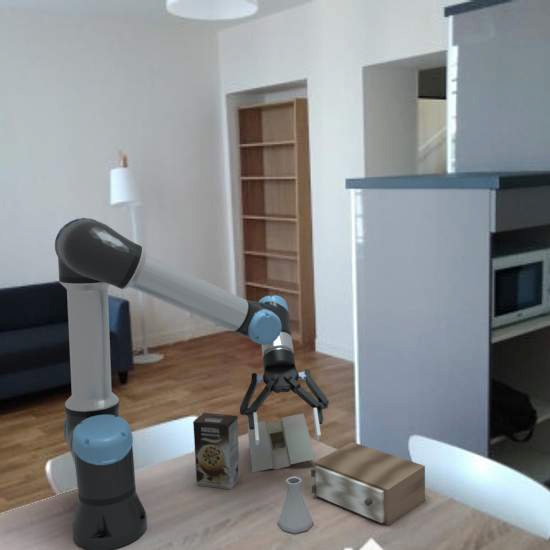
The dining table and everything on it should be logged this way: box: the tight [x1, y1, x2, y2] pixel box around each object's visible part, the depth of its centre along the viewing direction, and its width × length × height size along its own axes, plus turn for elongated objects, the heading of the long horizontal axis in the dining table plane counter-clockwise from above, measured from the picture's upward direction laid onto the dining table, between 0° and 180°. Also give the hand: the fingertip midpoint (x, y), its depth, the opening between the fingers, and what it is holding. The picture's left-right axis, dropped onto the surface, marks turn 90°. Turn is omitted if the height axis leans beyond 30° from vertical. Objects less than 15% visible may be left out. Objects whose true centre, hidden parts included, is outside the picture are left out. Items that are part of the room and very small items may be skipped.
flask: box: [277, 476, 315, 534], centre depth 136 cm, size 7×7×10 cm
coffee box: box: [192, 412, 241, 490], centre depth 155 cm, size 9×6×16 cm
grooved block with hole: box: [247, 412, 316, 473], centre depth 169 cm, size 16×9×15 cm
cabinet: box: [310, 441, 426, 527], centre depth 145 cm, size 20×16×8 cm
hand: (288, 440), depth 143 cm, fingers open, 13 cm apart
